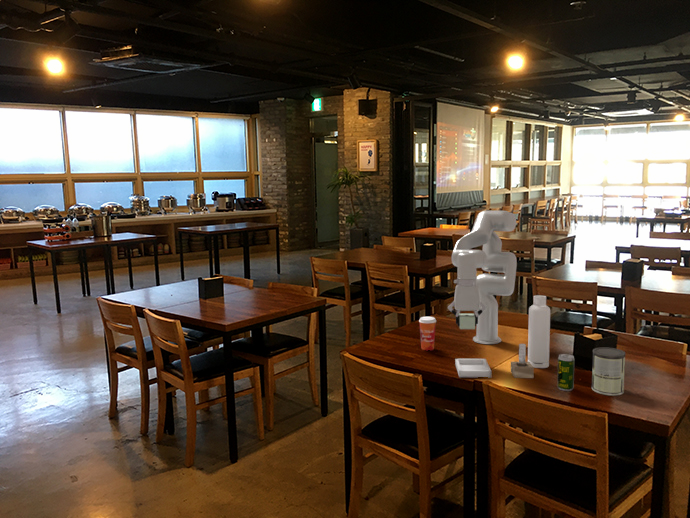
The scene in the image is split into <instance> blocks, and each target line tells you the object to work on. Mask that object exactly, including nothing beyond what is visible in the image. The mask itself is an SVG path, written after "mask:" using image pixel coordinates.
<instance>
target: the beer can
mask: <svg viewBox="0 0 690 518" xmlns="http://www.w3.org/2000/svg"><path fill="white" fill-rule="evenodd" d="M556 381H557V382H556V383H557V384H556V385H557V388H558V390H559V391H564V392H571V391H573V390H574V384H575V383H574V381H575V356H574V355H572V354H569V353H568V354H567V353H561V354H558V357H557V379H556Z"/></svg>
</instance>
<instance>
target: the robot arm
mask: <svg viewBox="0 0 690 518" xmlns="http://www.w3.org/2000/svg"><path fill="white" fill-rule="evenodd" d="M516 226H517V218H516V215H515V214H514V213H513V212H510V211H507V210H491V209H490V210H482V211H480V212H479V213H478V214H477V216H476V218H475V220H474V223H473V226H472V229H471V231H470V232H469V233H467V234H465V235H464V236H462V237H461V238H459V239H458V240H457V241H456V243H455V245H454V247H453V250H452V253H451V263H452V265H453V266H454V267H456V268H457V277H456V279H454V280H453V283H454V284H456V286H455V290H454V298H453V299H454V300H453V301H452V302H451V303H450V304H449V305H448V306H447V309H448V310H449V312H451V313H452V314H453V315H454V316H455V325H456V326H457V327H459V326H460V317H459V314H461V312H473V314H474V316H475V327H476V335H475V336H473V337H472V341H474V343H478V344H483V345H495V344H496V345H497V344H499V343H501V342H502V338H501V337H499V336H498V334H499V333H498V332H499V331H498V328H499V327H498V326H499V325H498V324H499V323H498V322H499V319H498V317H499V315H498V314H499V304H498V301H497V298H495V296H503V297H505V296H506V297H508V296H511V295H512V294H513V293H514V292H515V284H516V283H515V282H516V275H517V257H516V255H515V253H513V252H510V251H502V246H503V243H502V240H501V238H500V236H499V235H498V234H497V233H496V232H507V233H509V232H513V231H514V230H515V228H516ZM481 246H482V250H481V249H473V248H477V247H481ZM480 268H481V270H483V271H485V272H489V273H480V274H478V275H477V269H480ZM490 272H493V273H490ZM496 273H497V274H496ZM499 273H503V274H499ZM453 307H454V308H453Z"/></svg>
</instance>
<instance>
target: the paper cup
mask: <svg viewBox="0 0 690 518" xmlns="http://www.w3.org/2000/svg"><path fill="white" fill-rule="evenodd" d="M418 322H419V334H420V346H421V347H420V348H421V350H422V351H427V352H428V350H430V351H434V350H435V341H436V340H435V337H436V323H437V320H436V318H435V317H434V316H421V317H420V318H419V320H418Z"/></svg>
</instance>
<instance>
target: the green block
mask: <svg viewBox="0 0 690 518" xmlns="http://www.w3.org/2000/svg"><path fill="white" fill-rule="evenodd" d="M474 314H475V313H460V314H459V317H460V326H458V328H459V330H476V326H475V316H474Z"/></svg>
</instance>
